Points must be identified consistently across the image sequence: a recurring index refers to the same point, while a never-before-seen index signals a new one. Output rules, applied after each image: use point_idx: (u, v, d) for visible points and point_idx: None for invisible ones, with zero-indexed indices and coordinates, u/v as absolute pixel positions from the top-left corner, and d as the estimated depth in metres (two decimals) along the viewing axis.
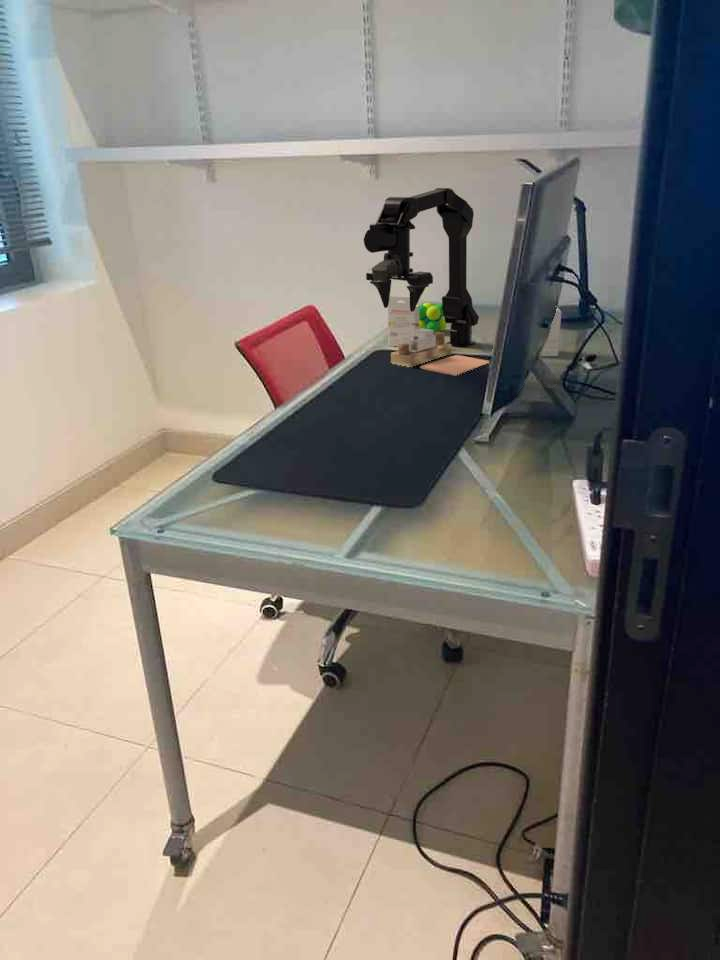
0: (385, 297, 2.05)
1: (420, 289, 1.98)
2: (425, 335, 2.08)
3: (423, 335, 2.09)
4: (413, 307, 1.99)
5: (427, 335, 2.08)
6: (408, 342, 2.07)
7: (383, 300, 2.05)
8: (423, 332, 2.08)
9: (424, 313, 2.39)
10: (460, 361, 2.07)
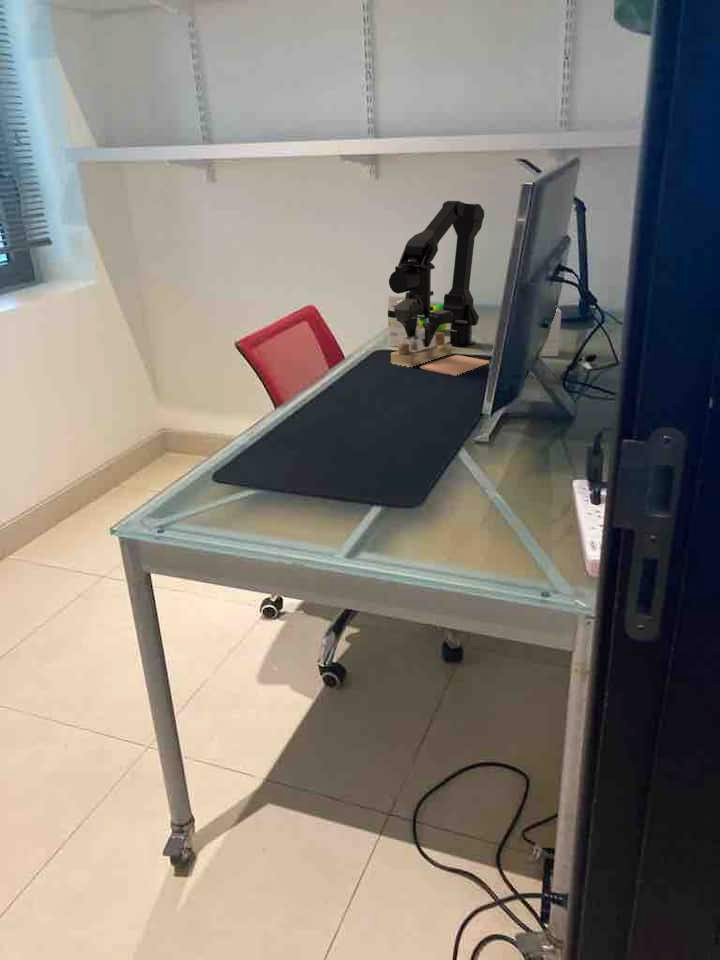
0: (411, 334, 2.11)
1: (435, 326, 2.06)
2: None
3: (423, 335, 2.09)
4: (428, 343, 2.08)
5: None
6: (408, 342, 2.07)
7: None
8: (423, 332, 2.08)
9: None
10: (460, 361, 2.07)
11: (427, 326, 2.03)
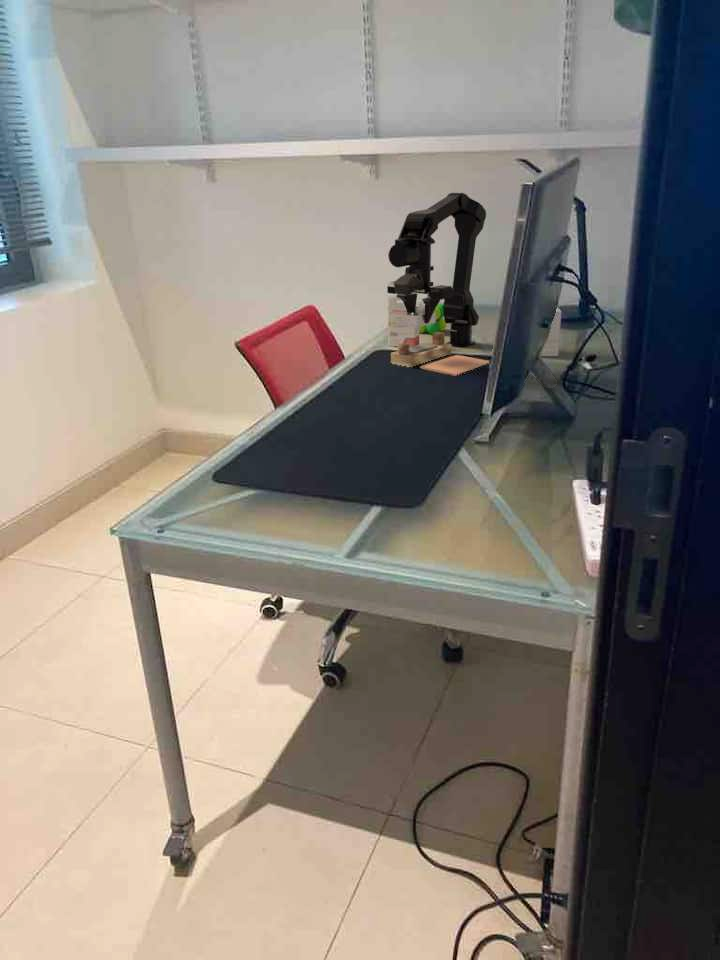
0: (411, 310, 2.08)
1: (435, 301, 2.03)
2: None
3: (423, 311, 2.06)
4: (428, 319, 2.05)
5: None
6: (408, 318, 2.05)
7: None
8: (423, 308, 2.06)
9: None
10: (460, 361, 2.07)
11: (427, 301, 2.00)
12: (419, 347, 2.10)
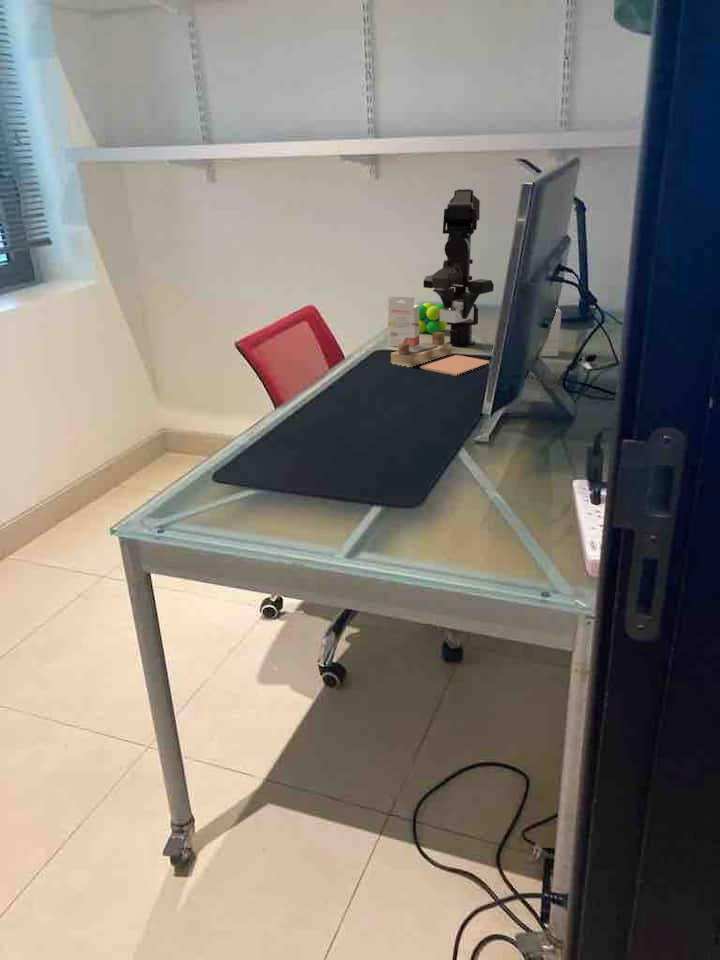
0: (448, 306, 2.00)
1: (474, 296, 1.96)
2: None
3: (461, 306, 1.98)
4: (466, 314, 1.97)
5: None
6: (445, 313, 1.97)
7: None
8: (461, 303, 1.98)
9: (424, 313, 2.39)
10: (460, 361, 2.07)
11: (466, 296, 1.92)
12: (419, 347, 2.10)
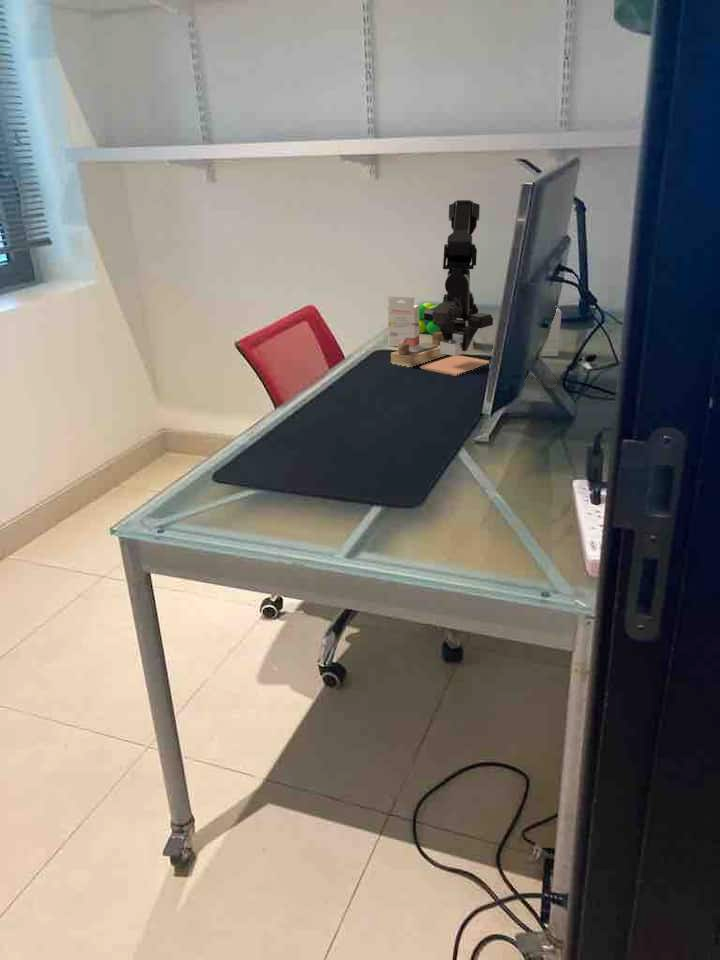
0: (448, 338, 2.03)
1: (473, 329, 1.99)
2: None
3: (461, 339, 2.02)
4: (466, 347, 2.00)
5: None
6: (445, 346, 2.00)
7: None
8: (461, 336, 2.01)
9: None
10: (460, 361, 2.07)
11: (466, 330, 1.96)
12: (419, 347, 2.10)
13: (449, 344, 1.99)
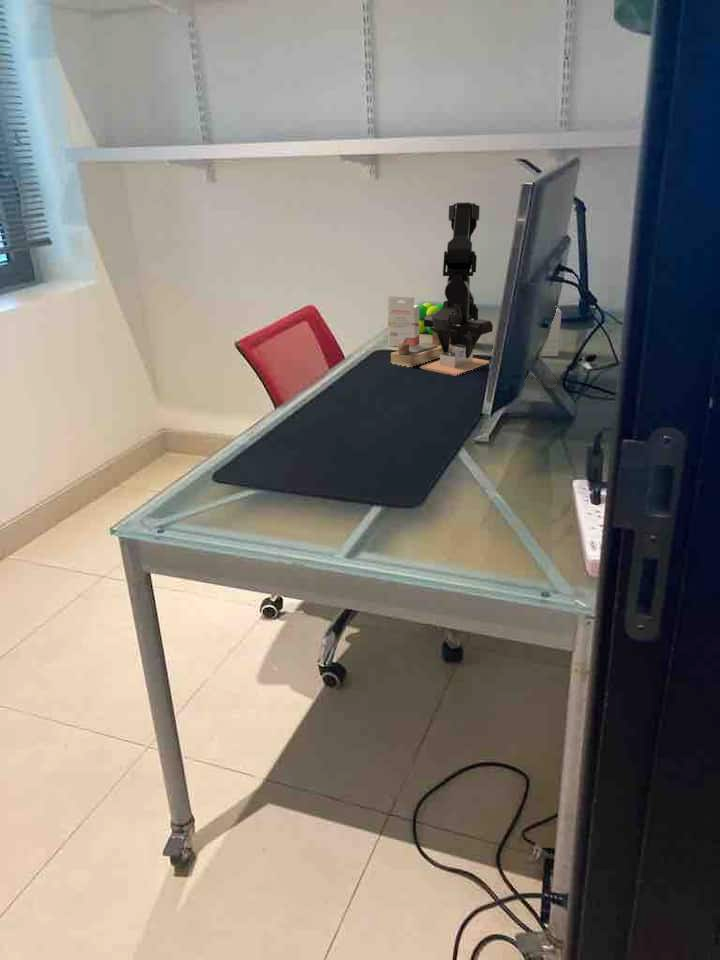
0: (445, 343, 2.05)
1: (476, 336, 1.99)
2: (462, 351, 2.02)
3: (460, 351, 2.03)
4: (469, 354, 2.00)
5: (464, 351, 2.02)
6: (445, 358, 2.01)
7: (443, 346, 2.05)
8: (460, 348, 2.03)
9: (424, 313, 2.39)
10: None
11: (469, 336, 1.96)
12: (419, 347, 2.10)
13: (449, 357, 2.00)
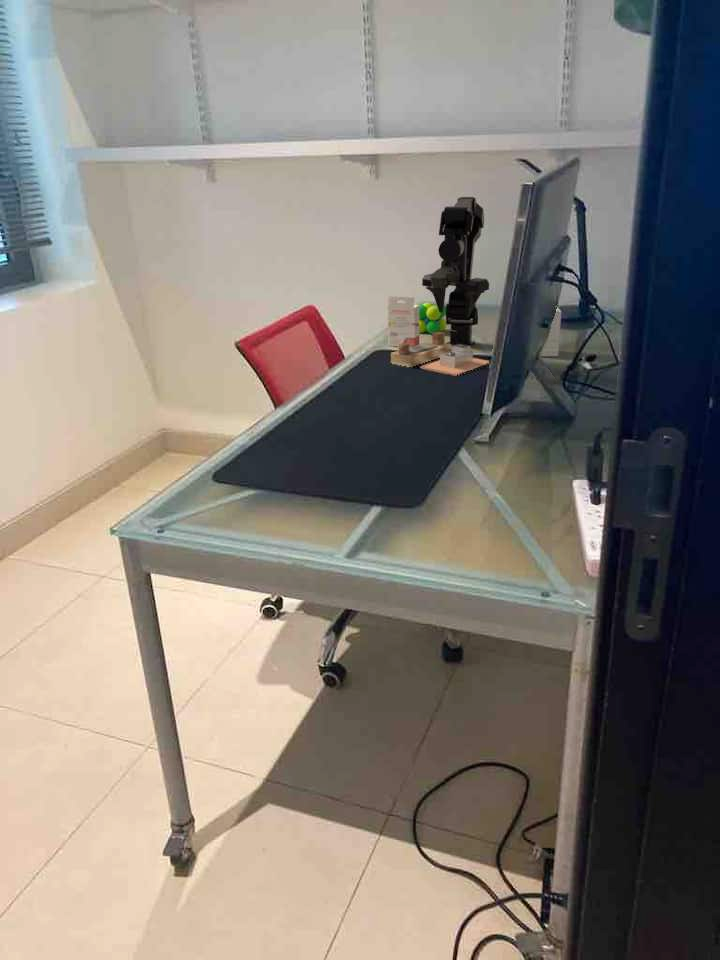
0: (440, 302, 2.12)
1: (476, 295, 2.05)
2: (462, 351, 2.02)
3: (460, 351, 2.03)
4: (469, 312, 2.07)
5: (464, 351, 2.02)
6: (445, 358, 2.01)
7: (438, 305, 2.12)
8: (460, 348, 2.03)
9: (424, 313, 2.39)
10: None
11: (469, 295, 2.02)
12: (419, 347, 2.10)
13: (449, 357, 2.00)
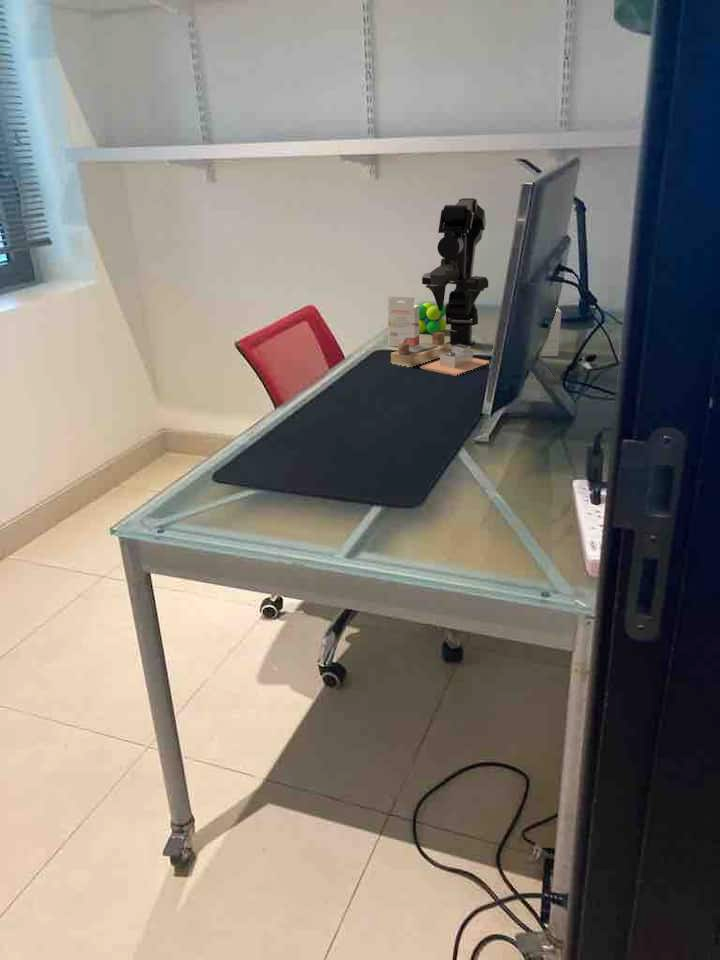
0: (440, 300, 2.13)
1: (475, 293, 2.06)
2: (462, 351, 2.02)
3: (460, 351, 2.03)
4: (468, 310, 2.07)
5: (464, 351, 2.02)
6: (445, 358, 2.01)
7: (438, 303, 2.13)
8: (460, 348, 2.03)
9: (424, 313, 2.39)
10: None
11: (468, 293, 2.03)
12: (419, 347, 2.10)
13: (449, 357, 2.00)
